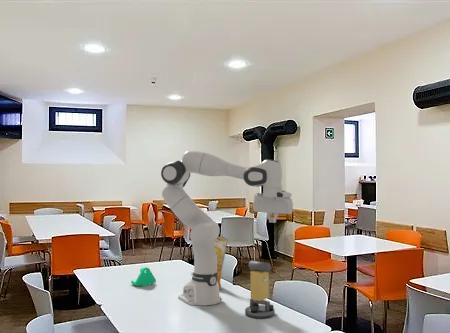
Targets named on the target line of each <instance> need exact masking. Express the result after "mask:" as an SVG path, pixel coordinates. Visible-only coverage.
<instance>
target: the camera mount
mask: <svg viewBox="0 0 450 333" xmlns="http://www.w3.org/2000/svg"><path fill="white" fill-rule="evenodd" d="M139 271H140V272H139V274H138V276H137V278H136V279H132V280H131V281H130V284H132V285H134V286H136V287H138V286H140V287H147V286H151V284H155V283H157V279H156V278H155V275H154V274H153V272H152V271H151V269H150V268H149V267H147V266H142V267H141V268H140V269H139Z"/></svg>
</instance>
